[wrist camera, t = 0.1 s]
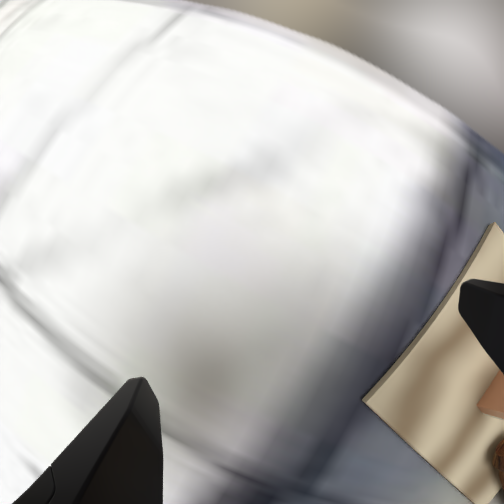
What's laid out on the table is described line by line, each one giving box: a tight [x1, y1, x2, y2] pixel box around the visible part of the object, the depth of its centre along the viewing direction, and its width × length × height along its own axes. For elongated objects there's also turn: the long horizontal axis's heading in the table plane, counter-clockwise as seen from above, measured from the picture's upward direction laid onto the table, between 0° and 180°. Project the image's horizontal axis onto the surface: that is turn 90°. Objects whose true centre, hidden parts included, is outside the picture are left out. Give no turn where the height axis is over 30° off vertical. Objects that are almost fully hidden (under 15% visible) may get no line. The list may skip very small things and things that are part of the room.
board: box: [362, 222, 504, 504], centre depth 20 cm, size 22×20×1 cm
